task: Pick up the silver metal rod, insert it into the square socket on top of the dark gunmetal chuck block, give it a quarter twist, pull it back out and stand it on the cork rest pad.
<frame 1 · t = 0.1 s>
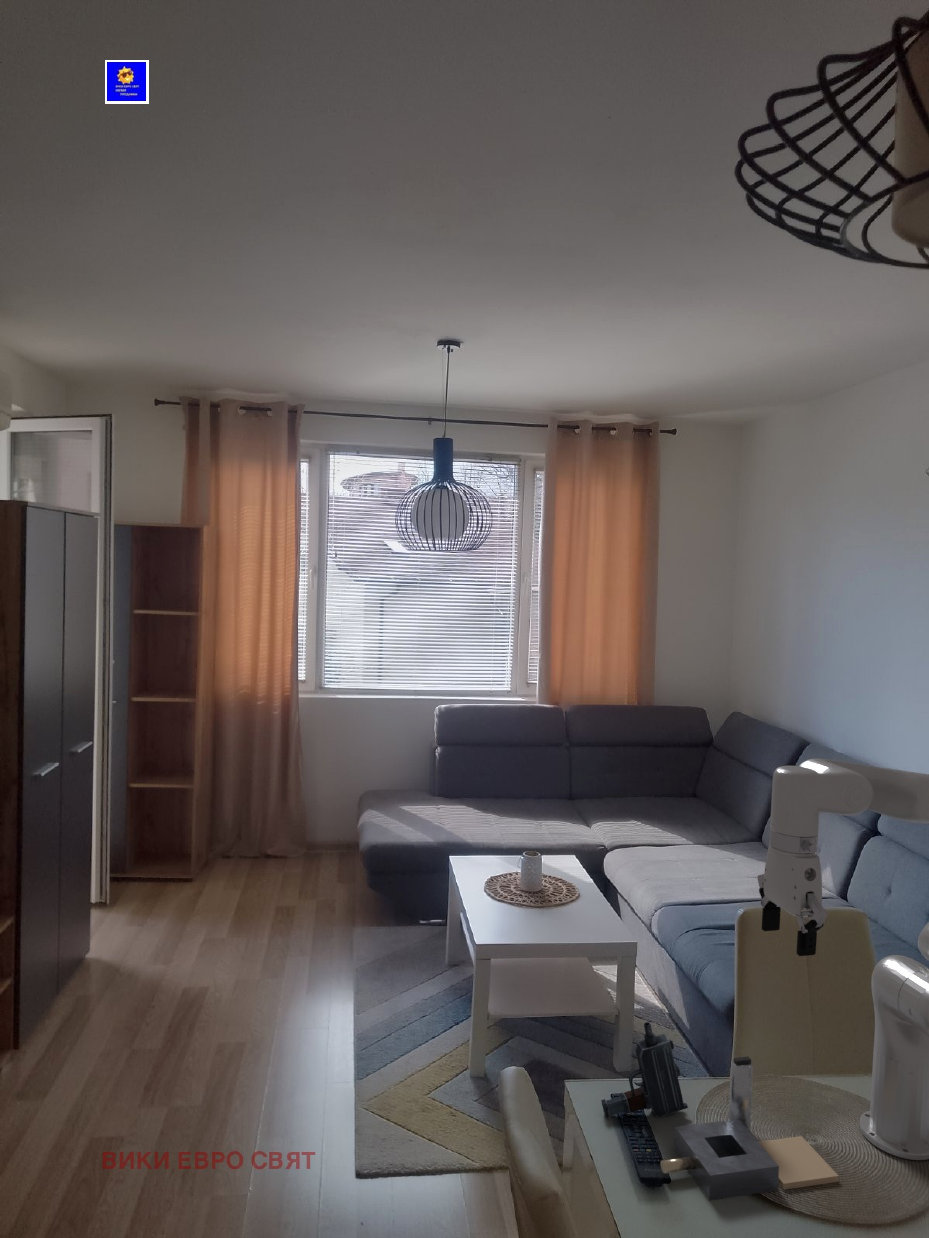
hand: (787, 941, 144), 37 cm above the table, tool pointing down, fingers open, 9 cm apart
rest pad: (792, 1164, 143), on the table
gun: (643, 1114, 155), on the table
chuck block: (724, 1169, 141), on the table
silver metal rod: (738, 1128, 151), on the table
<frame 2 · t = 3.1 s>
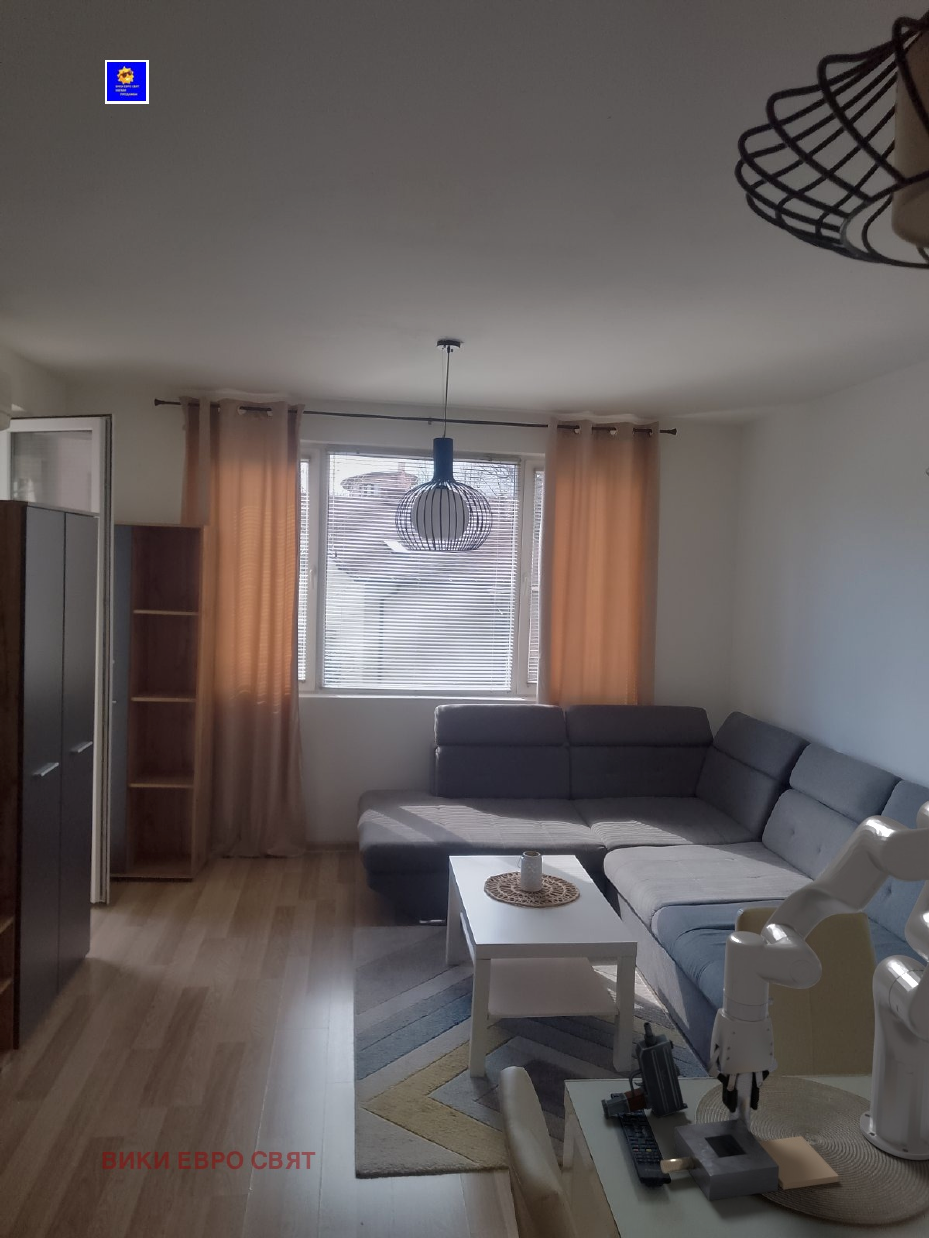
hand: (740, 1105, 151), 4 cm above the table, tool pointing down, fingers closed on silver metal rod, 3 cm apart
silver metal rod: (738, 1128, 151), on the table, touching gripper
everything else where it was.
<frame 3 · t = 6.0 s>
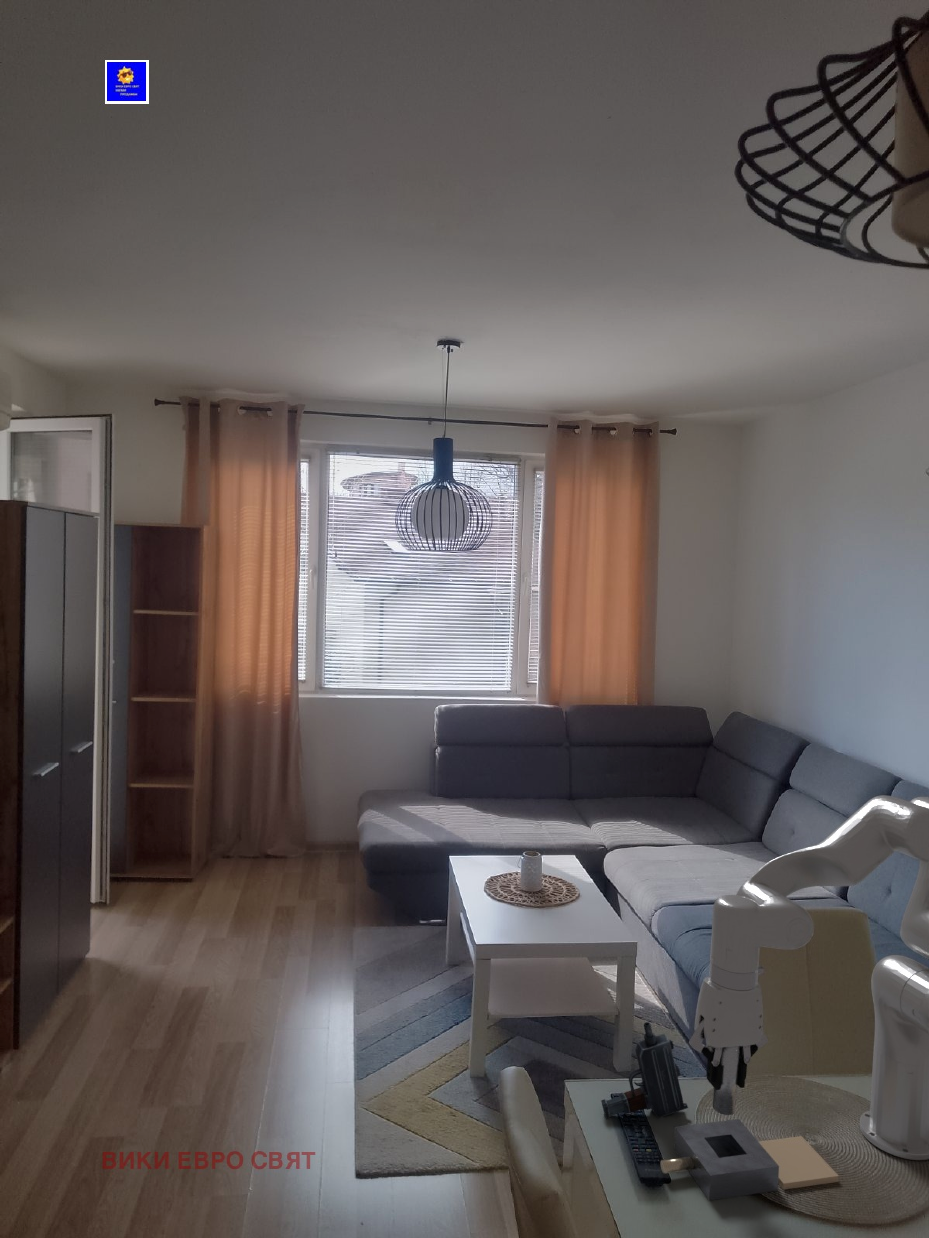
hand: (725, 1082, 140), 15 cm above the table, tool pointing down, fingers closed on silver metal rod, 3 cm apart
silver metal rod: (723, 1107, 140), point 10 cm above the table, touching gripper
everything else where it was.
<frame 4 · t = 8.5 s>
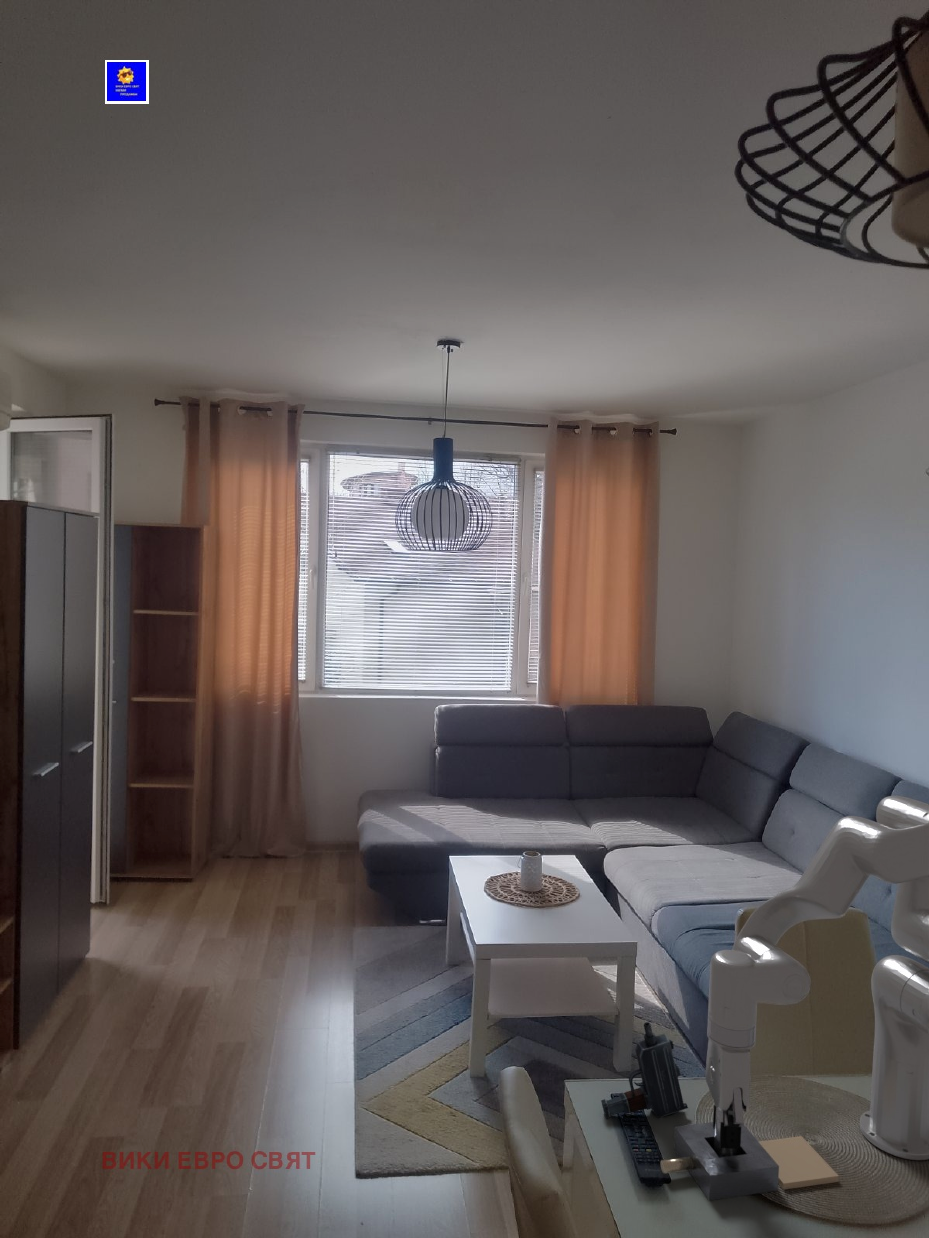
hand: (726, 1137, 141), 5 cm above the table, tool pointing down, fingers closed on silver metal rod, 3 cm apart
silver metal rod: (724, 1162, 141), point 1 cm above the table, touching gripper
everything else where it was.
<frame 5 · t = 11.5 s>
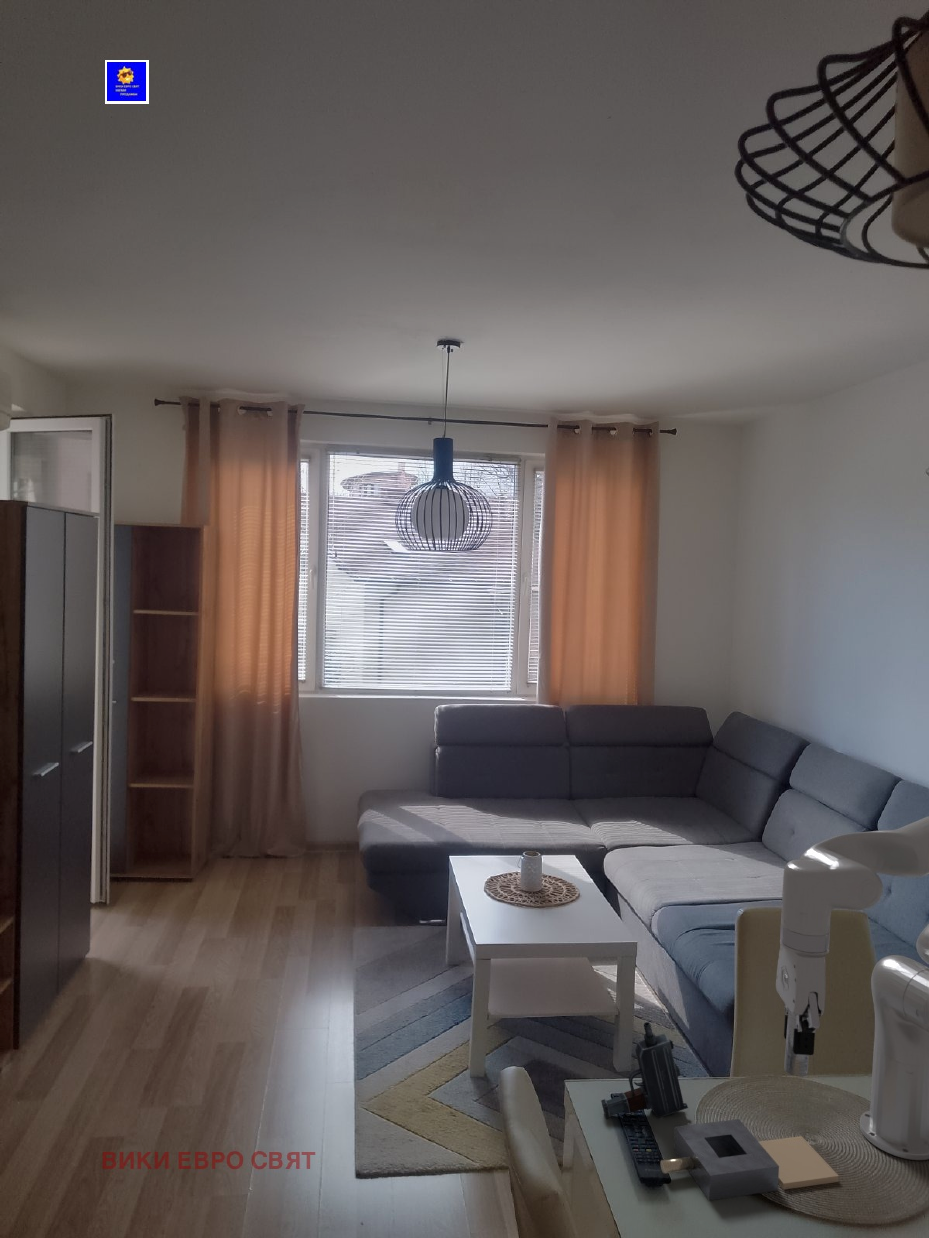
hand: (798, 1045, 142), 20 cm above the table, tool pointing down, fingers closed on silver metal rod, 3 cm apart
silver metal rod: (795, 1070, 142), point 16 cm above the table, touching gripper
everything else where it was.
when the fingers open (6 cm above the table, at t = 14.1 s): silver metal rod drops 1 cm, resting on rest pad.
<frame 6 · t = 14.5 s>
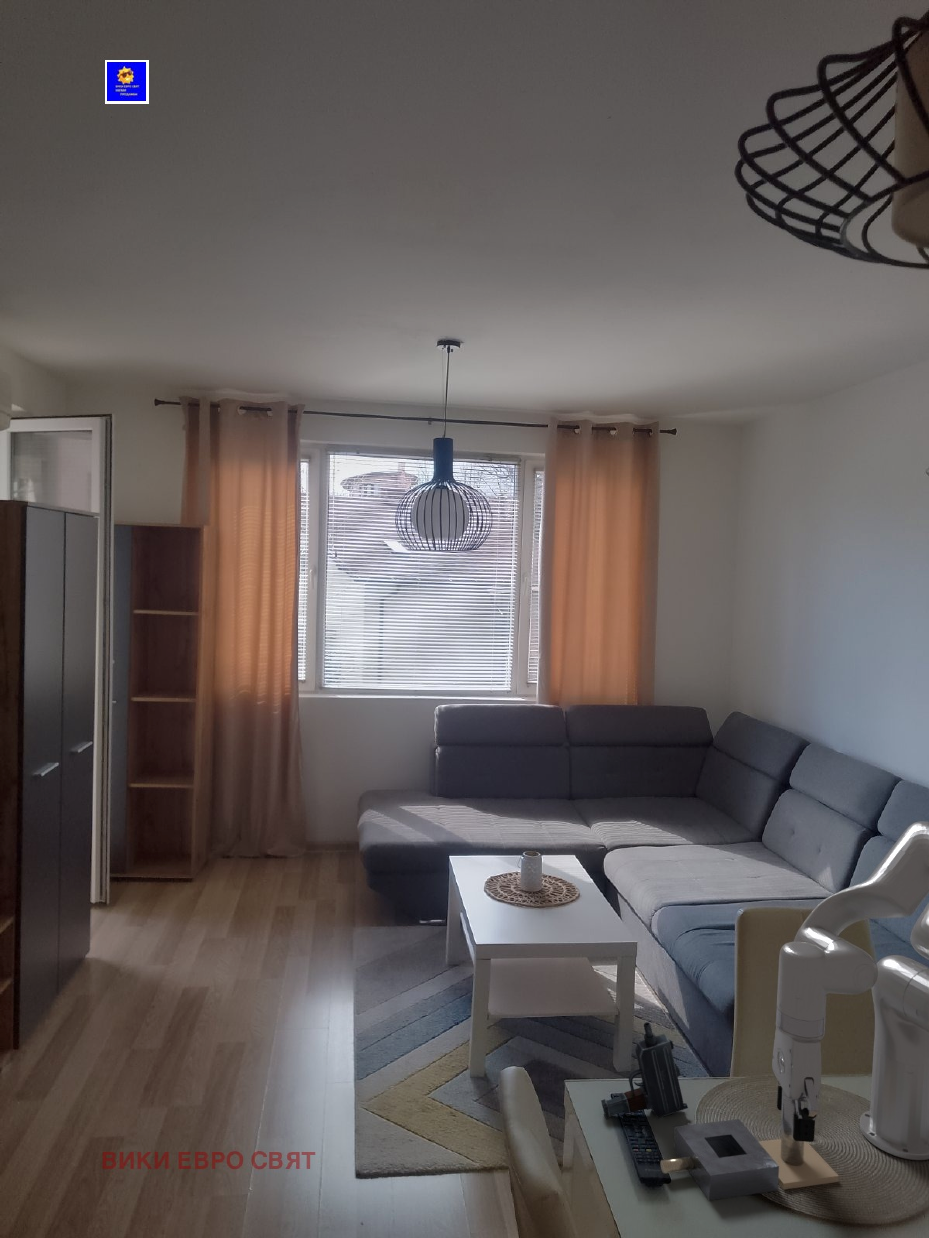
hand: (794, 1123, 142), 7 cm above the table, tool pointing down, fingers open, 7 cm apart
silver metal rod: (792, 1158, 143), point 1 cm above the table, touching rest pad
everything else where it was.
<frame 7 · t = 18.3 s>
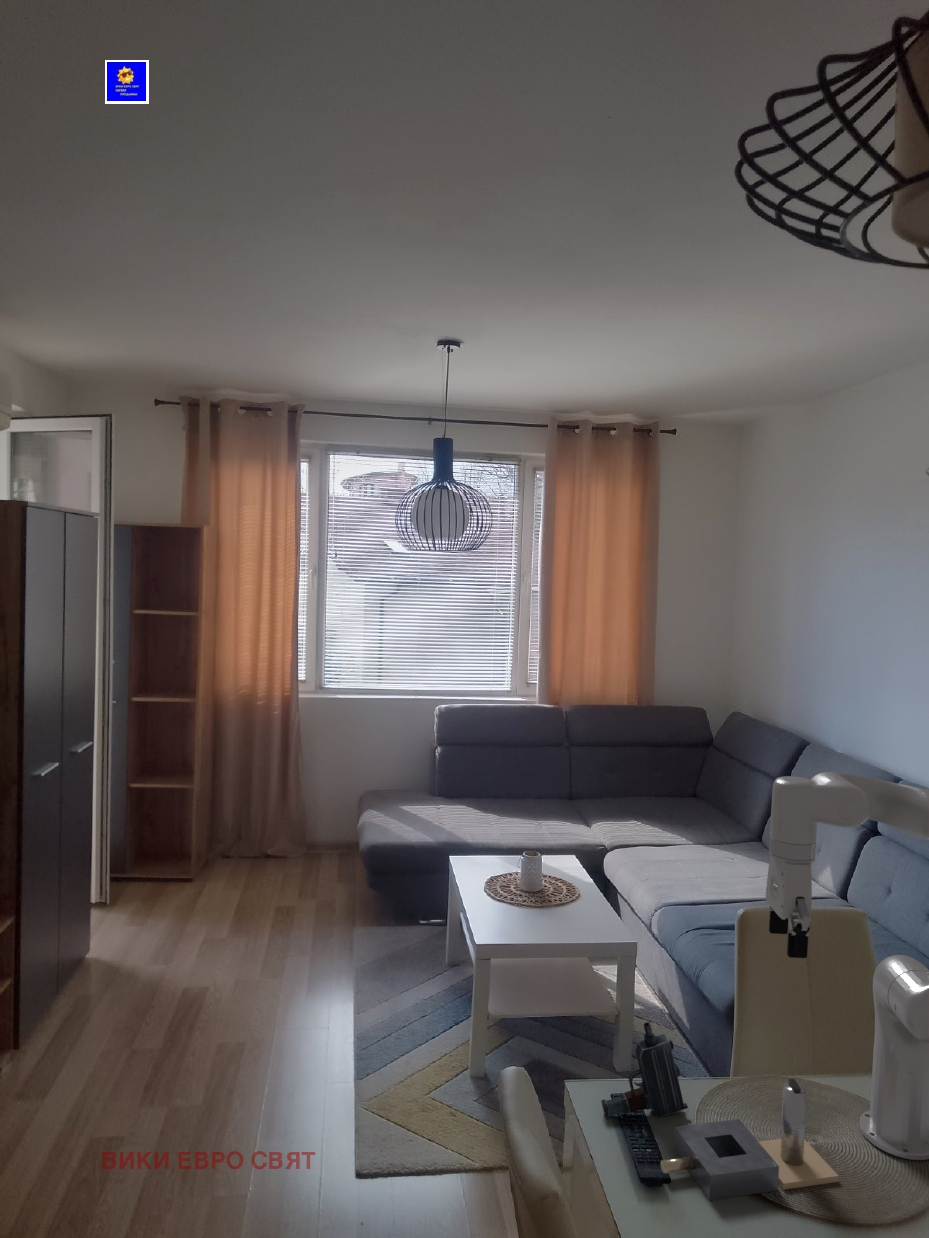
hand: (787, 944, 150), 33 cm above the table, tool pointing down, fingers open, 9 cm apart
nothing on the table moved.
at the end: silver metal rod inside the target area on the rest pad (0.1 cm from its centre), point 1.0 cm above the rest pad's base; silver metal rod tilted 1°; the gripper is holding nothing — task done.
